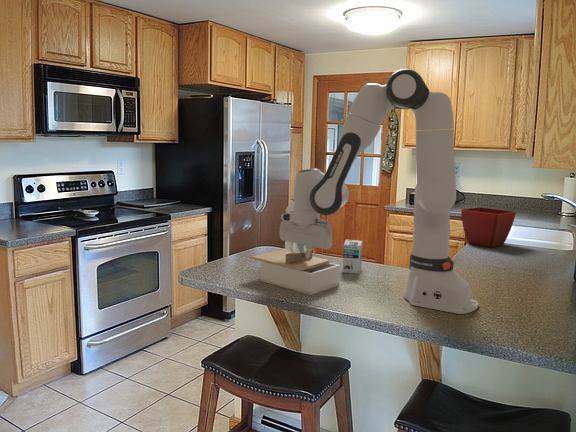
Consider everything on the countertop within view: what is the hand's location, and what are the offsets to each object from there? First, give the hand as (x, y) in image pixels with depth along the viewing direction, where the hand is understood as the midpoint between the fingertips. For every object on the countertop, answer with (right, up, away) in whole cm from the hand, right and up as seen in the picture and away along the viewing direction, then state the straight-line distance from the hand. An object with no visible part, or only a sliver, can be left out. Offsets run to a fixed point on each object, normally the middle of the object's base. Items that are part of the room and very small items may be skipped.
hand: (304, 257), depth 169 cm
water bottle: (-4, -4, +36) cm, 36 cm away
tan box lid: (-5, -1, +5) cm, 7 cm away
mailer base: (-2, -9, +3) cm, 10 cm away
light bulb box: (+19, -7, +22) cm, 30 cm away
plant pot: (+92, 0, +78) cm, 120 cm away
